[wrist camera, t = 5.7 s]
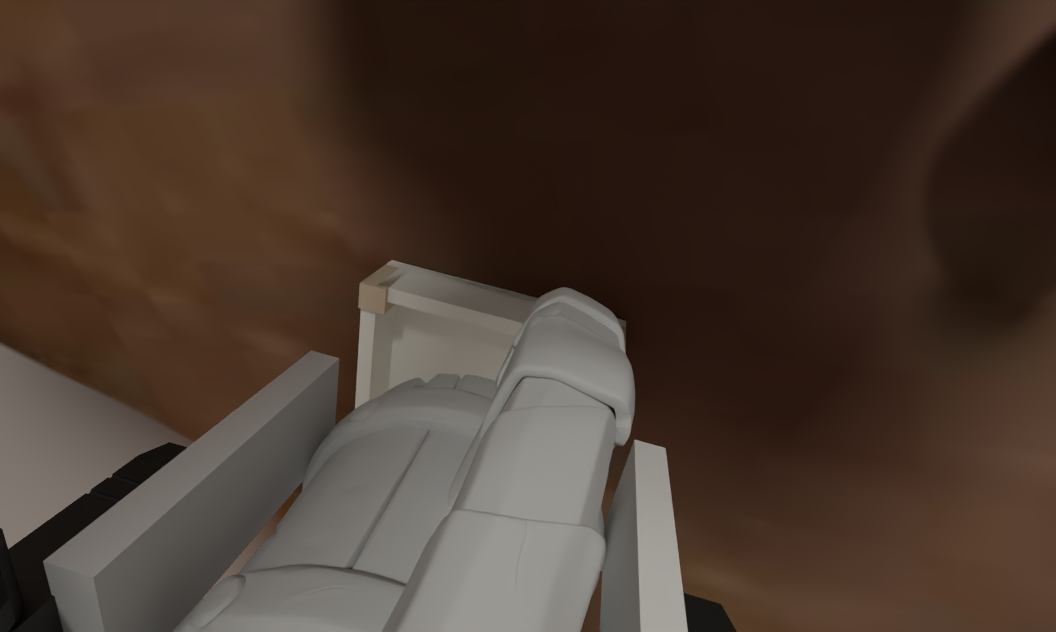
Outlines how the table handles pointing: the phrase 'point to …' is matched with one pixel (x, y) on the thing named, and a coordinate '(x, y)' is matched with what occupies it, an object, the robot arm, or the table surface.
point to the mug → (453, 498)
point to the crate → (433, 327)
